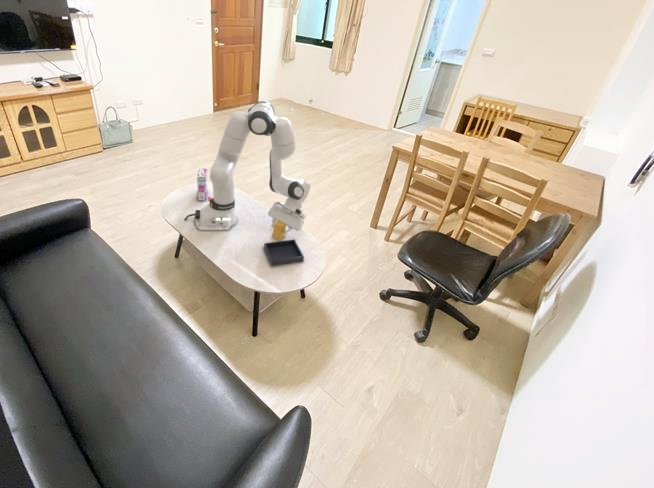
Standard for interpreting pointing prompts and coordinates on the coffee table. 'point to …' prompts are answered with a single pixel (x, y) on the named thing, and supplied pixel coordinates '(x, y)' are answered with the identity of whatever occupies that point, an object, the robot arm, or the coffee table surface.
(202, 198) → the candy bar box
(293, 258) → the pan
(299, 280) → the coffee table surface
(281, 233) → the cheese
